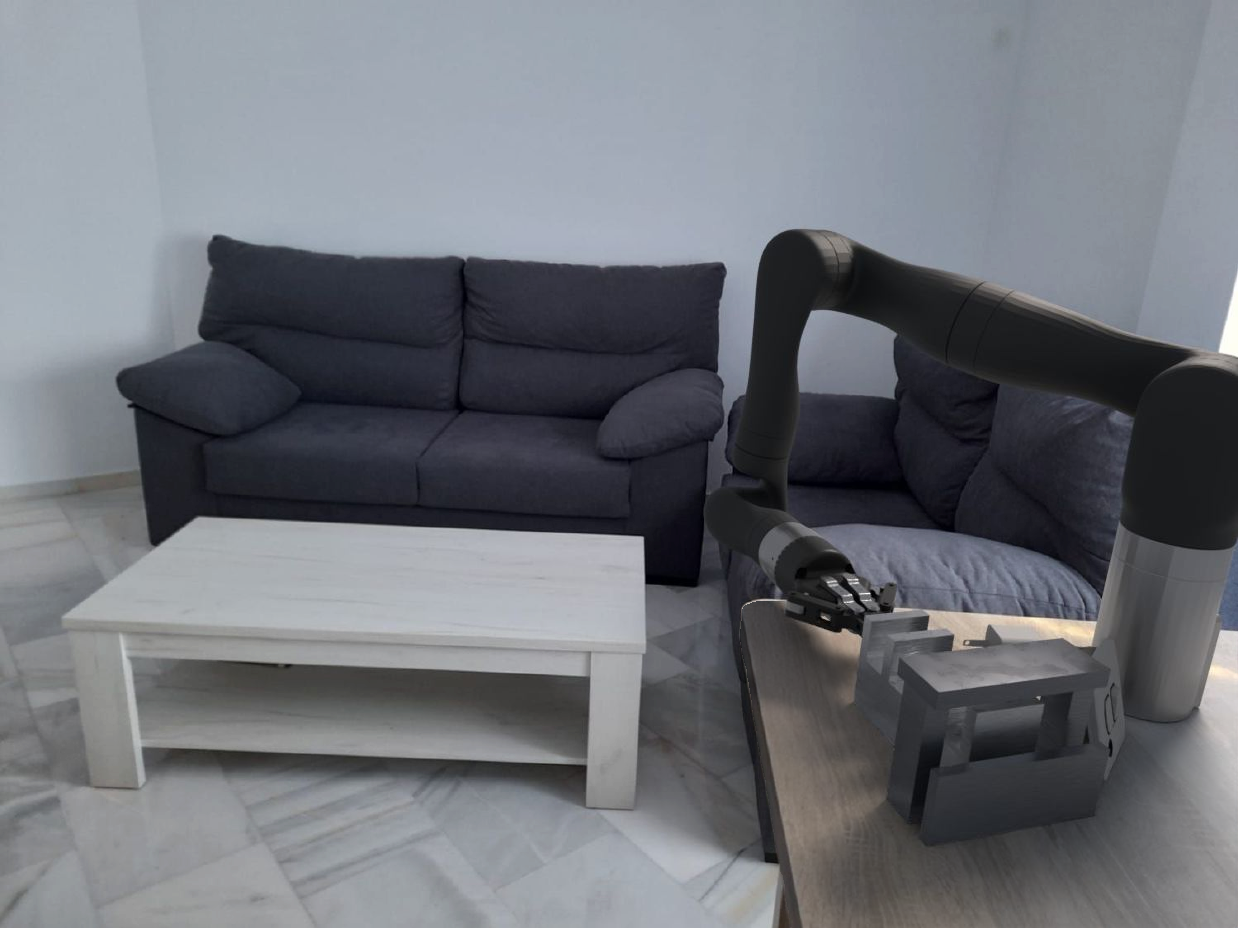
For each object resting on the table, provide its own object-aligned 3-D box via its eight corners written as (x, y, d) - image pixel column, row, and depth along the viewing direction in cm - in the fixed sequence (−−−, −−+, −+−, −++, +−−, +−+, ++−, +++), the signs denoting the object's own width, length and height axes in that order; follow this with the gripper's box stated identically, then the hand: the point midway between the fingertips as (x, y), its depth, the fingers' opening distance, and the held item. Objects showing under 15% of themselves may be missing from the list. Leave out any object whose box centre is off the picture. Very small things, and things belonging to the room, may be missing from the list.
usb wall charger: (1039, 678, 88) (1047, 642, 87) (970, 674, 88) (977, 639, 87) (1023, 657, 92) (1030, 623, 91) (957, 654, 92) (962, 620, 91)
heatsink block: (908, 694, 84) (922, 609, 82) (1023, 802, 70) (1044, 703, 67) (853, 701, 83) (864, 615, 80) (958, 813, 68) (977, 713, 65)
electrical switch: (1104, 788, 72) (1115, 684, 70) (1036, 767, 75) (1045, 667, 73) (1126, 737, 79) (1136, 642, 77) (1063, 720, 82) (1071, 628, 80)
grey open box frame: (1036, 764, 74) (1062, 637, 71) (1094, 815, 68) (1126, 679, 65) (879, 789, 70) (899, 657, 67) (927, 846, 64) (951, 703, 61)
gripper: (751, 538, 95) (829, 610, 79) (861, 530, 98) (956, 598, 82) (746, 601, 97) (820, 684, 81) (853, 591, 100) (944, 669, 85)
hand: (888, 641), depth 82 cm, fingers closed
